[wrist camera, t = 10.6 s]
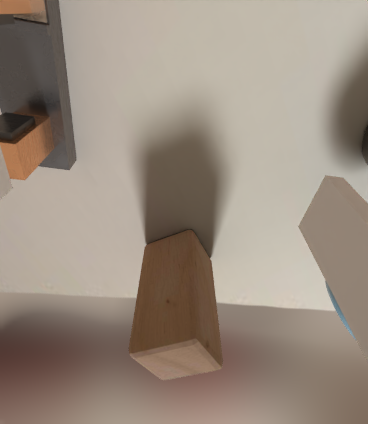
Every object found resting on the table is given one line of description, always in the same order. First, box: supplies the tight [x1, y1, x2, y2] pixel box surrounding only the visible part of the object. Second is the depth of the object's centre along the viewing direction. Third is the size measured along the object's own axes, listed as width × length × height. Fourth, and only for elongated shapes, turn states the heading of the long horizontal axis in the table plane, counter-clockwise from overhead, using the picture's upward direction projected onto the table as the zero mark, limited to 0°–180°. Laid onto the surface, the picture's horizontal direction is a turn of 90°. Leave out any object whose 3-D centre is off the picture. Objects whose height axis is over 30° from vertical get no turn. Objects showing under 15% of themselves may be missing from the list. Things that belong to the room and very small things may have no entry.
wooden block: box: [129, 230, 223, 380], centre depth 42 cm, size 10×10×20 cm
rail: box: [0, 0, 76, 180], centre depth 26 cm, size 7×24×11 cm, turn 171°
